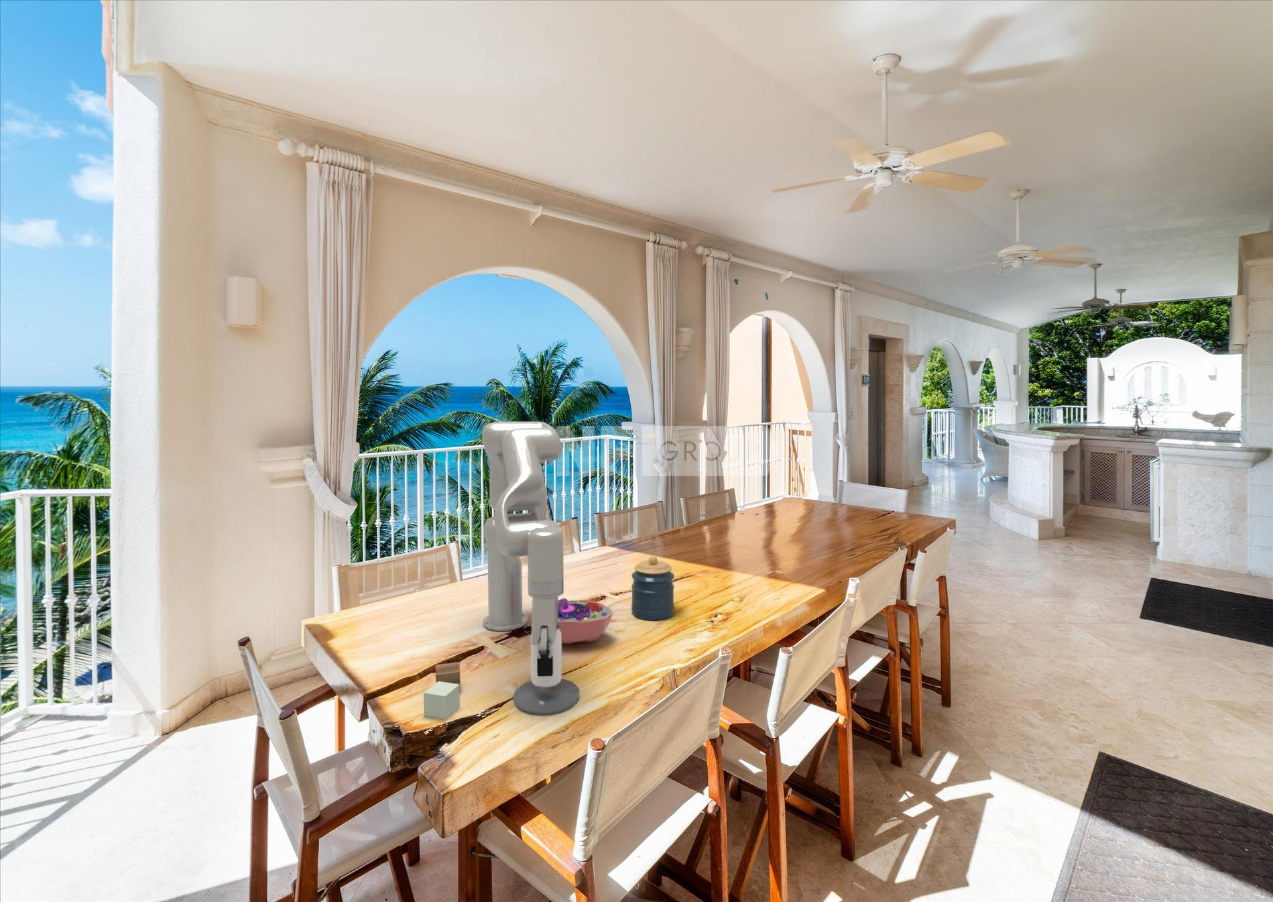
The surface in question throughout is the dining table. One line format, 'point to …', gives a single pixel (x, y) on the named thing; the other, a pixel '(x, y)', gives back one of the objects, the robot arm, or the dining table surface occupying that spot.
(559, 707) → the trivet
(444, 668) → the walnut block
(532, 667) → the can
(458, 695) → the sage block
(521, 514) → the robot arm
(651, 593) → the canister
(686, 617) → the dining table surface
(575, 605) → the cell model
